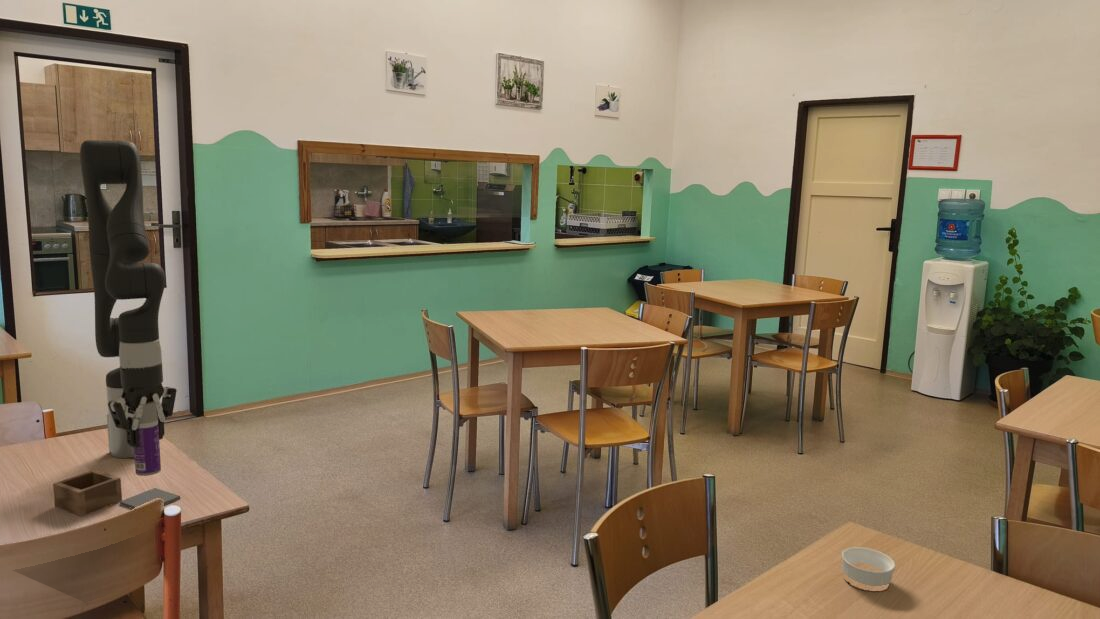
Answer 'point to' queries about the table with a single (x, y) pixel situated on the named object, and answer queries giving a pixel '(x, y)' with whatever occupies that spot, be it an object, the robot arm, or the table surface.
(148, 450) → the container
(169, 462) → the table surface
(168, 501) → the mat
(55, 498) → the holder
